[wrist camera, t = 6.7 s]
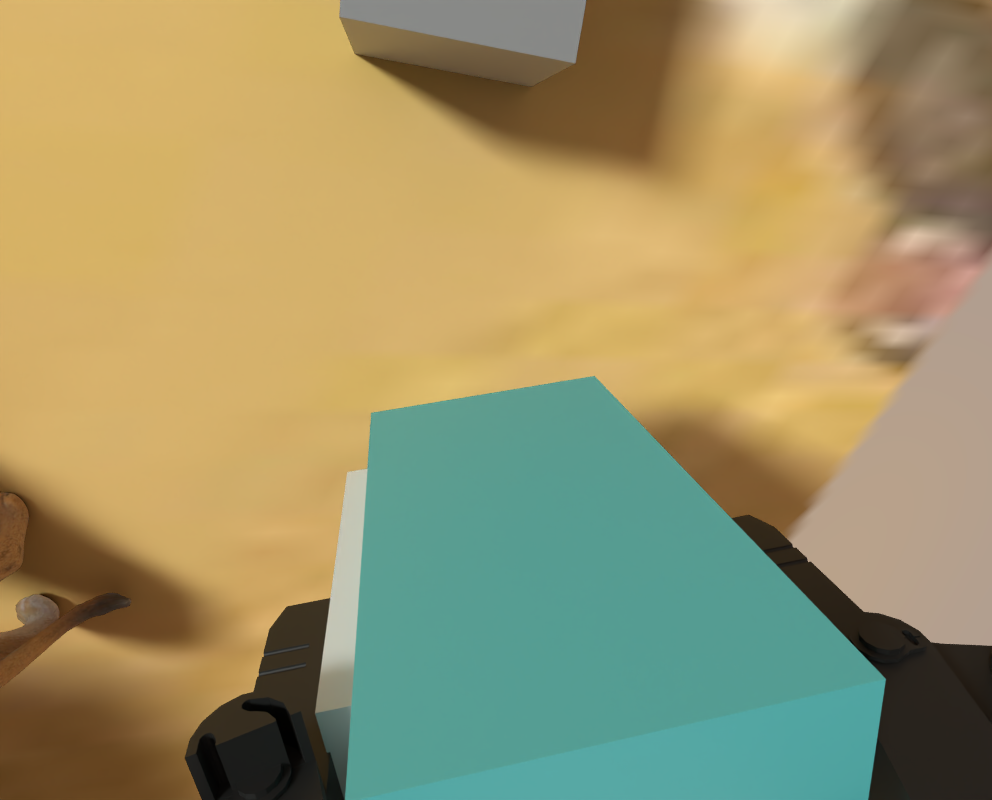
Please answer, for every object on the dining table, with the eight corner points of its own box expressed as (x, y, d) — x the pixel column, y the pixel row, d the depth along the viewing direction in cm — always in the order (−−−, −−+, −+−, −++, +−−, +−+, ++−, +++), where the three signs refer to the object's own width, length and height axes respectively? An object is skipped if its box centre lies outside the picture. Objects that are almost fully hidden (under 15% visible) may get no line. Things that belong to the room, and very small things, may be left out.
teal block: (409, 599, 16) (433, 1105, 7) (371, 412, 14) (343, 803, 5) (605, 560, 16) (840, 990, 8) (594, 375, 14) (886, 678, 6)
